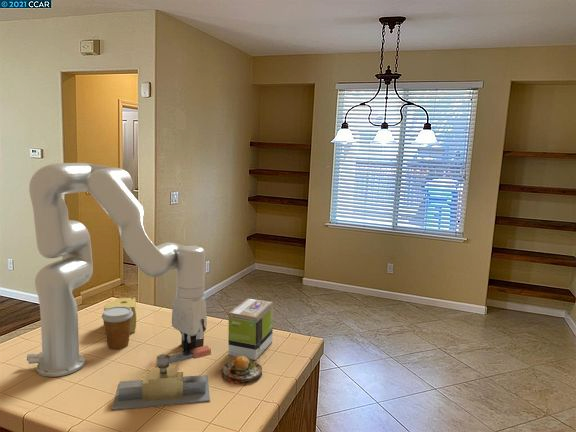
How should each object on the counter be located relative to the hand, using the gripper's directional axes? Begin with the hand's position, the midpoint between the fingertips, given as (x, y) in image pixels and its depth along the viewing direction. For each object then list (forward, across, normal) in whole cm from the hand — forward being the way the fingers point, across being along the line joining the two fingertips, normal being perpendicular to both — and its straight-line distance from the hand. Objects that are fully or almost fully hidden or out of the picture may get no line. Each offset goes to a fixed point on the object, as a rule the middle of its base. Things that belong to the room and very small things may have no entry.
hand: (189, 353), depth 122 cm
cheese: (+9, -46, +6) cm, 47 cm away
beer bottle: (+8, -17, +15) cm, 24 cm away
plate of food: (+8, +8, +13) cm, 18 cm away
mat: (+8, 0, -8) cm, 12 cm away
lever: (0, +2, -4) cm, 5 cm away
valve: (+8, +1, -9) cm, 12 cm away
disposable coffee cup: (+9, -34, -2) cm, 35 cm away
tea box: (+8, -1, +27) cm, 28 cm away
